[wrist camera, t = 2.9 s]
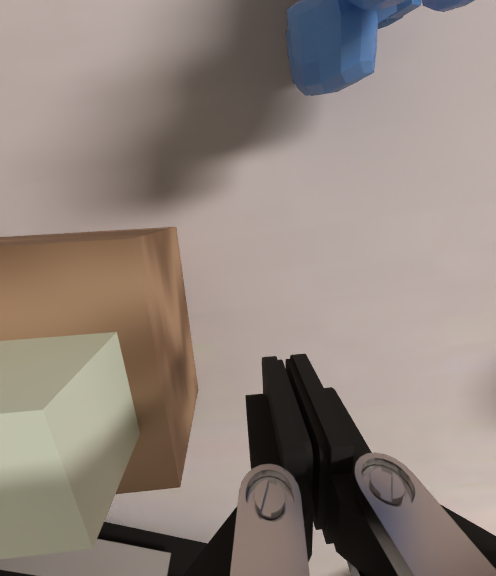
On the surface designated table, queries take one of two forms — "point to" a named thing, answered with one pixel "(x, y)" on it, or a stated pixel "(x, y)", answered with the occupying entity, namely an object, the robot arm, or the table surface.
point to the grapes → (342, 38)
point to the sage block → (61, 440)
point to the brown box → (114, 326)
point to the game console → (113, 556)
